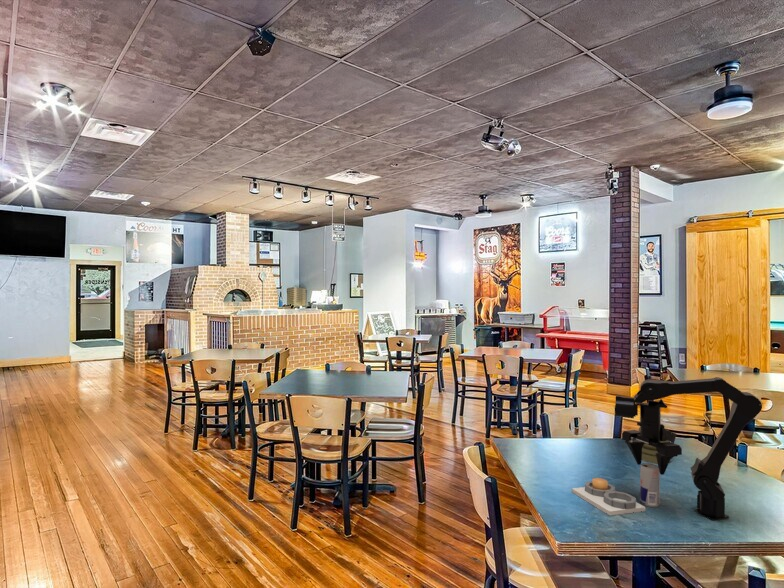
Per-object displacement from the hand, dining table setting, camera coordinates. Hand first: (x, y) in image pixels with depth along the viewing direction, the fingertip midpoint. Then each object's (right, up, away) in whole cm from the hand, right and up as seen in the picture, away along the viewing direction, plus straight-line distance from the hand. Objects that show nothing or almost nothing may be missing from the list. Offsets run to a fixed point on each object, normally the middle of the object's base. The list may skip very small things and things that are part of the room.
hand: (650, 469), depth 150 cm
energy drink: (0, -11, 0) cm, 11 cm away
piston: (+25, -12, +43) cm, 51 cm away
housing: (-13, -11, +1) cm, 17 cm away
